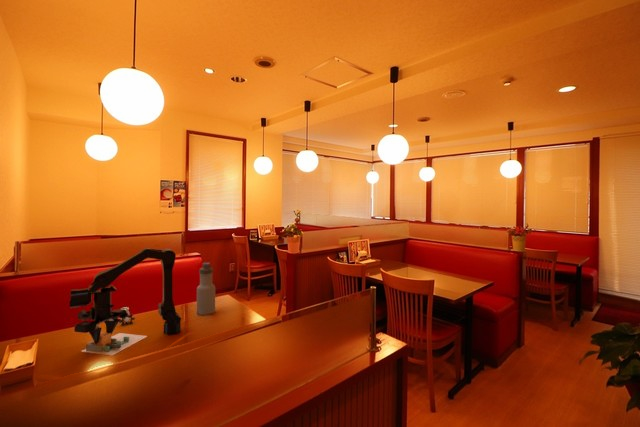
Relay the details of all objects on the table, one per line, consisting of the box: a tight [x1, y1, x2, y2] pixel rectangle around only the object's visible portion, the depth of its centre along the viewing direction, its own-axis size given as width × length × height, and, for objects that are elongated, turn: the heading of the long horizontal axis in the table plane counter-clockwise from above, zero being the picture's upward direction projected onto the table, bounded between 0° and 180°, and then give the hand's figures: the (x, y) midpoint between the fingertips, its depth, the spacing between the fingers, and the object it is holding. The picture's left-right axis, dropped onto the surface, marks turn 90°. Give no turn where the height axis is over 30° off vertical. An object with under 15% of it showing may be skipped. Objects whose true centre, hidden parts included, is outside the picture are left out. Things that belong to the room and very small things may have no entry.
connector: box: [94, 331, 121, 350], centre depth 121 cm, size 11×4×6 cm, turn 78°
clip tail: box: [104, 342, 119, 352], centre depth 120 cm, size 2×5×2 cm, turn 168°
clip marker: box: [115, 337, 129, 345], centre depth 125 cm, size 2×5×2 cm, turn 168°
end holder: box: [85, 338, 116, 352], centre depth 121 cm, size 7×7×2 cm
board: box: [80, 332, 148, 356], centre depth 125 cm, size 15×18×1 cm
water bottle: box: [196, 262, 216, 316], centre depth 166 cm, size 10×10×28 cm
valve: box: [118, 306, 136, 326], centre depth 150 cm, size 7×7×12 cm
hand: (102, 340), depth 121 cm, fingers open, 5 cm apart
